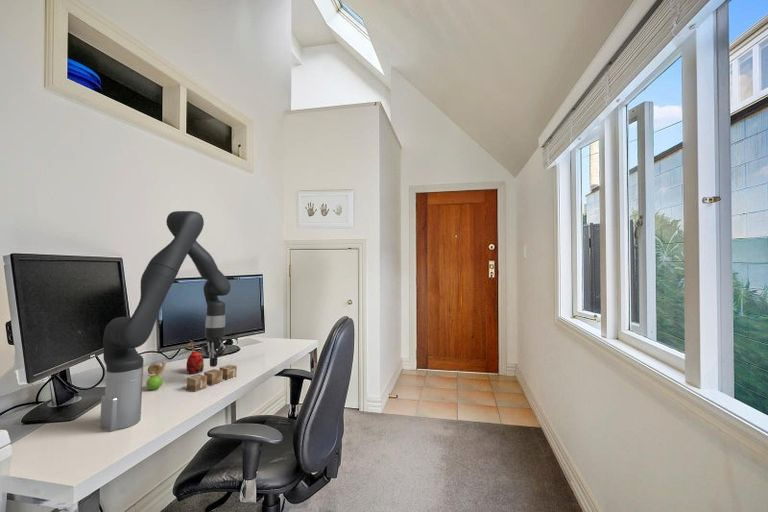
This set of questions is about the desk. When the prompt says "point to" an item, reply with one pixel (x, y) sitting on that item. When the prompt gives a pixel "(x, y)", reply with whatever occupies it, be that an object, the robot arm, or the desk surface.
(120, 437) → the desk surface
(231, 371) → the numeral 7 block
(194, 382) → the numeral 1 block
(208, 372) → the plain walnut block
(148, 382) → the snail figurine
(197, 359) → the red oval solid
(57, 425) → the desk surface
